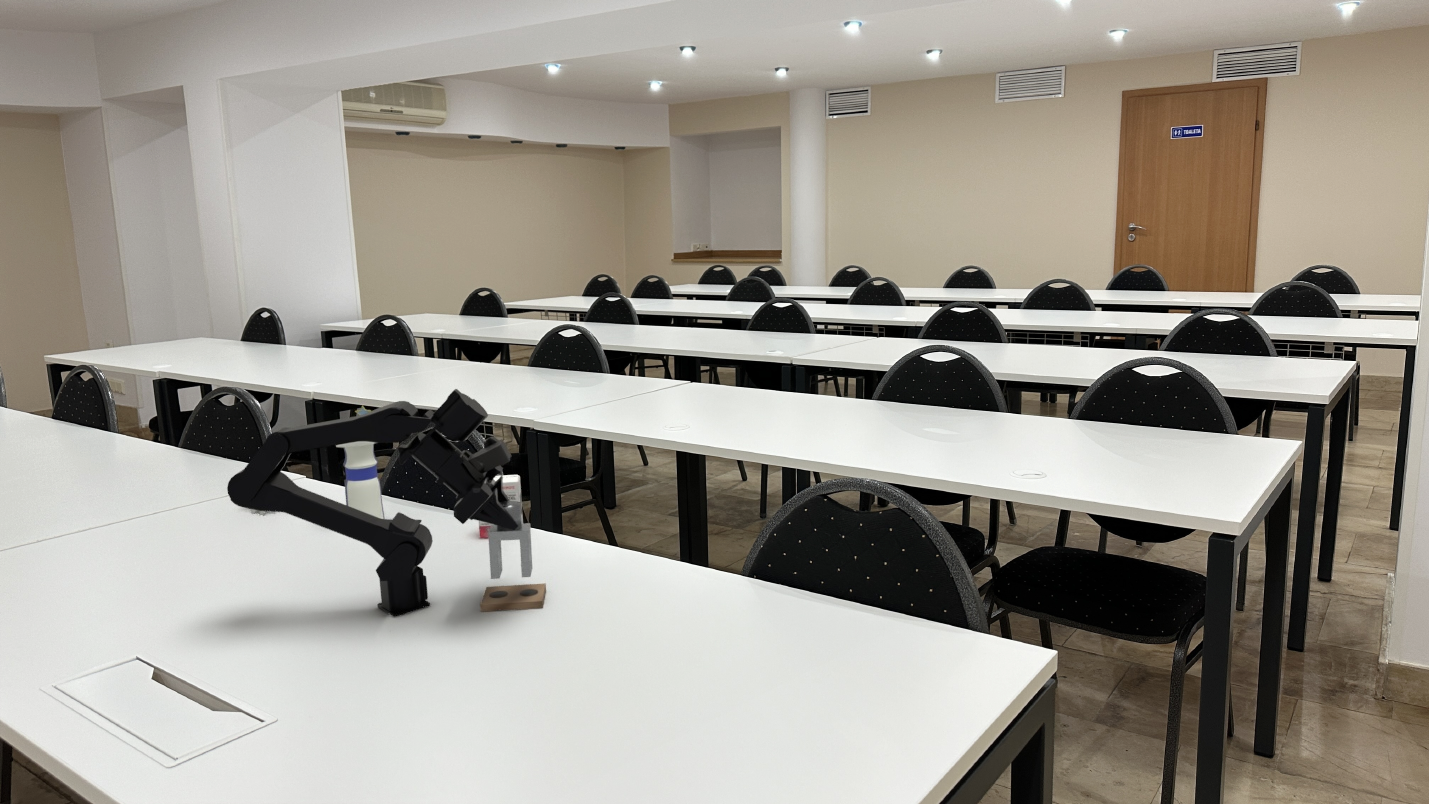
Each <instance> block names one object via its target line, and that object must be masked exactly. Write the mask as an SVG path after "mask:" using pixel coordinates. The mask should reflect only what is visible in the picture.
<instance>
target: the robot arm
mask: <svg viewBox="0 0 1429 804" xmlns="http://www.w3.org/2000/svg"><path fill="white" fill-rule="evenodd" d="M488 416H489V415H488V411H486V409H485V408H484V407H483V405H481V404H480V403H479V401H477V400H476V399H475V398H471V397H470V396H469V395H467V394H465V393H462V392H461V391H460V390H459V389H458V388H455V389H454V390H452V391H451V392H450V394H449V395H448V396H447V398H446V399H445V400H444V402H443V403H442V404H441V405H440V406H439V407H438V408H437V409H432V408H423V407H422V408H421V407H416V406H415V405H414V404H412V403H411V402H410V401H406V400H398V401H395V402H393V403H389V404H387V405H383V406H381V407H378V408H376V409H374V410H371V411H370V412H368V413H366V414H363V415H357V416H350V417H345V418H339V419H333V420H328V421H322V422H317V423H311V424H305V425H299V426H294V427H284V426H283V427H281V428H278V429H277V430H274V431H273V432H271V433H270V434H269V435H267V437H266V438H265V441H264V443H263V444H262V446H261V447H260V448H259V450H258V451H257V452H256V454H255V455H254V456H253V457H252V458H251V460H250V461H249V462H248V463H247V464H246V466H245V467H244V468H243V469H242V470H240V471H239V472H237V473H236V474H234V475H233V476H232V477H231V478H230V479H229V481H228V482H227V488H226V489H227V494H228V497H229V498H230V501H231V503H233V504H234V505H236V506H237V507H240V508H243V509H250V510H252V509H253V510H256V511H258V512H260V511H265V512H274V513H276V512H277V513H285V514H287V515H290V516H293V517H295V518H298V519H300V520H304V521H306V522H309V523H311V524H313V525H316V526H319V527H322V528H324V529H327V530H329V531H331V532H334V533H337V534H340V535H342V536H346V537H348V538H349V539H353V540H355V541H358V542H361V543H363V544H366V545H368V546H369V547H370V548H372V549H373V550H374V551H375V552H376V553H377V554H378V555H379V556H380V557H381V558H383V559H382V560H381V562H380V563H379V565H378V566H377V568H376V569H375V572H376V574H377V576H378V578H379V579H378V580H379V588H380V589H379V590H380V599H381V600H380V603H378V604H377V608H378V609H381V611H383V612H385V613H387V614H388V615H390V616H392V617H394V618H395V617H399V616H402V615H405V614H409V613H412V612H415V611H419V610H422V609H425V608H428V607H431V602H429V601H428V598H429V596H428V584H427V583H428V582H427V576H426V575H424V569H423V568H422V567H420V566H419V565H420V564H421V563H423V561H424V560H425V558H426V556H427V554H428V553H429V551H430V549H431V548H432V545H433V535H432V533H431V531H430V529H429V527H427V526H426V525H424V524H422V520H421V519H415V518H411V517H409V516H408V515H406V514H404V513H402V512H400V511H398V512H397V513H396V514H395V516H394V517H393V518H392V519H389V518H385V519H381V518H378V517H375V516H373V515H370V514H367V513H365V512H362V511H360V510H357V509H355V508H352V507H349V506H347V505H346V504H344V503H341V502H339V501H337V500H333V499H331V498H329V497H326V496H323V495H322V494H318V493H316V492H313V491H311V490H308V489H305V488H303V487H301V486H298V485H297V484H296V483H295V482H294V481H293V480H292V479H291V478H290V477H289V476H287V474H285V473H284V472H282V470H283V468H285V465H286V463H287V462H288V460H289V458H290V456H291V454H294V453H295V454H296V453H300V452H306V451H310V450H311V451H312V450H317V449H322V448H328V447H334V446H335V447H336V445H341V444H347V443H352V442H358V441H366V442H374V444H388V443H389V444H393V443H394V444H397V443H402V442H405V441H406V440H407V439H409V438H410V437H412V435H413V434H416V435H415V436H414V438H412V440H411V441H409V443H408V444H401V445H400V446H398V448H397V451H398V453H399V454H398V455H399V456H398V457H399V458H398V460H399V461H398V463H399V464H400V465H404V464H405V463H406V462H407V461H408V460H409V458H411V457H412V458H413V459H414V460H415V461H416V462H418V463H419V464H420V465H421V466H422V467H424V468H425V469H426V470H427V471H428V472H430V473H431V474H432V475H433V476H434V477H435V478H436V481H435V483H436V484H437V485H438V486H439V487H440V486H442V485H444V486H446V487H447V488H448V489H449V490H450V491H452V492H453V493H454V494H455V495H456V497H455V500H456V503H455V505H454V507H453V517H454V518H455V519H456V520H457V521H458V522H459V523H460V524H462V525H464V524H465V523H467V521H468V520H470V521H472V520H475V521H478V522H479V521H482V522H486V523H490V524H494V525H497V526H501V527H504V528H508V529H511V530H515V529H516V528H517V527H518V524H517V522H516V521H515V520H514V519H513V518H512V516H511V515H510V514H509V513H508V512H507V511H506V509H505V508H504V507H503V506H502V505H501V504H500V502H504V501H510V500H509V499H508V497H507V496H506V494H505V493H504V491H503V476H504V475H500V474H501V473H502V471H503V469H504V467H502V466H504V465H506V464H507V463H509V462H510V461H511V458H512V454H511V452H510V450H509V448H508V443H507V442H505V441H504V440H503V439H502V438H501V439H498V438H496V437H495V436H490V437H488V438H486V439H485V440H484V441H483V448H481V449H479V450H478V451H477V452H475V453H472V452H471V451H469V450H468V449H466V450H465V449H464V450H462V451H461V449H459V448H458V447H457V446H456V445H454V443H453V442H457V441H460V442H465V441H466V440H467V439H468V438H469V437H470V436H471V435H472V433H474V432H475V431H476V429H477V428H478V427H479V426H480V425H482V423H483V422H484V421H485V420H486V419H487V418H488ZM431 423H433V424H435V425H434V426H433V427H432V428H431V429H430V431H428V432H427V434H425V433H422V432H424V431H425V430H426V429H427V428H428V426H429V425H431ZM498 475H500V476H501V477H500V478H499V479H498V480H497V481H495V480H494V477H495V476H498Z"/></svg>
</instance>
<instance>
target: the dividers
mask: <svg viewBox="0 0 1429 804" xmlns="http://www.w3.org/2000/svg"><path fill="white" fill-rule="evenodd" d="M500 504H501V505H502V506H503V507H504V508H505V509H506V511H507V512H508V513H509V514H510V515H511V516H512V518H513V519H514V520H515V521H516V522H517V524H518V527H517V528H516V529H515V530H511V529H508V528H504V527H501V526H497V525H491V527H490V529H489V532H488V537H489V538H488V549H489V551H488V552H489V553H488V554H489V567H490V568H489V569H490V571H489V572H490V579H492V580H495V579H496V580H499V579H500V578H501V575H502V573H503V558H502V557H503V556H502V541H519V549H520V551H519V552H520V566H521V567H520V568H521V578H531V576H532V571H533V554H532V550H533V549H532V534H531V532H532V531H531V529H532V528H531V523H530V522H527V523H524V522H523V523H522V520H521V503H520V502H518V501H504V502H500Z"/></svg>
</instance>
